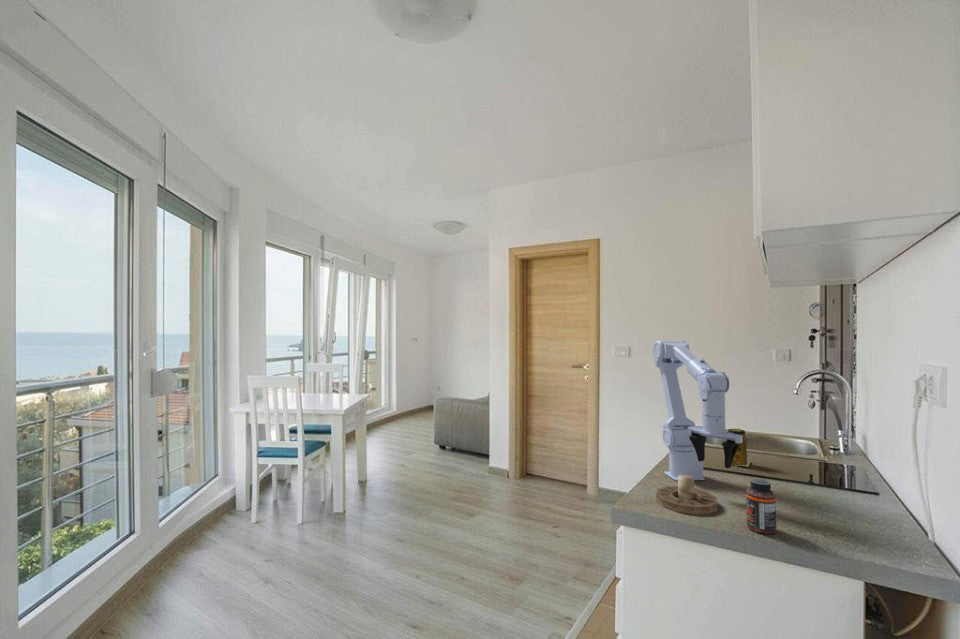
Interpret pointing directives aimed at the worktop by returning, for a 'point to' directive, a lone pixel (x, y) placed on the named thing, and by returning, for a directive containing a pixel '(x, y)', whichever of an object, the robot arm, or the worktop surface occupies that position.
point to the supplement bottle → (761, 507)
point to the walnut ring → (687, 501)
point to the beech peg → (686, 487)
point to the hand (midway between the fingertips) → (714, 464)
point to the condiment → (740, 448)
